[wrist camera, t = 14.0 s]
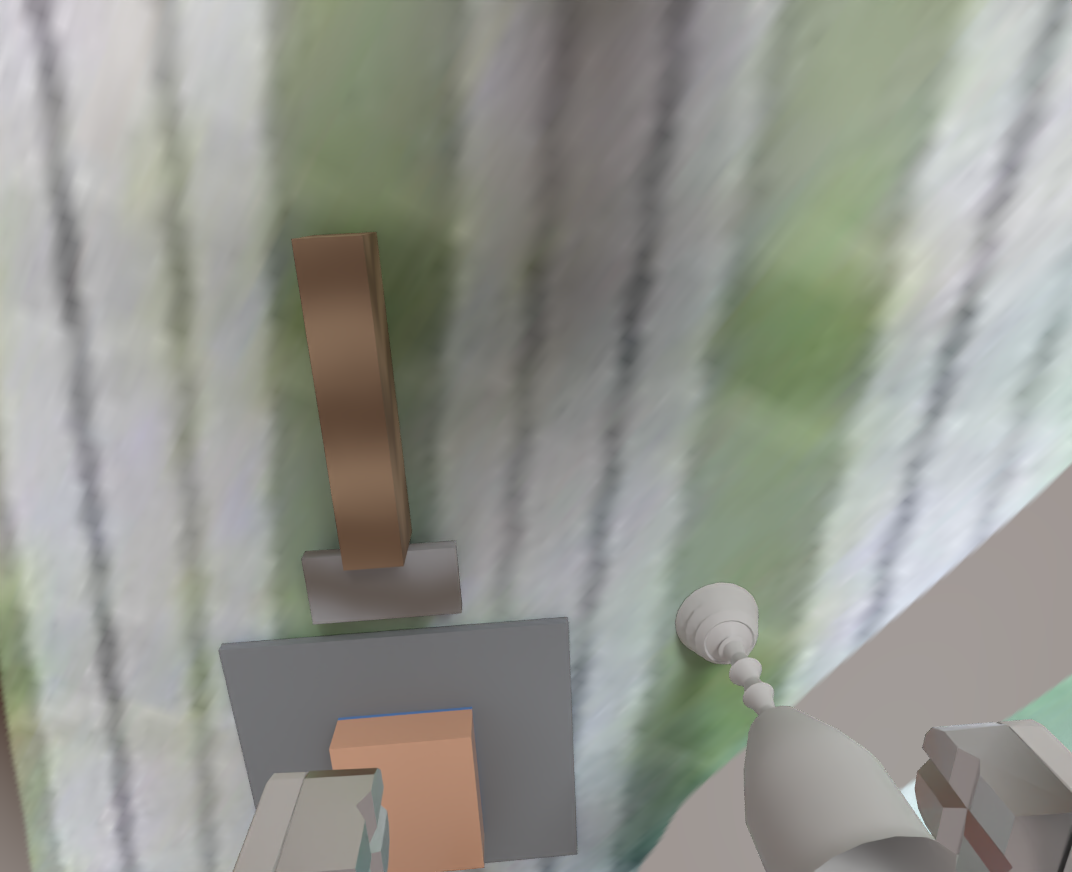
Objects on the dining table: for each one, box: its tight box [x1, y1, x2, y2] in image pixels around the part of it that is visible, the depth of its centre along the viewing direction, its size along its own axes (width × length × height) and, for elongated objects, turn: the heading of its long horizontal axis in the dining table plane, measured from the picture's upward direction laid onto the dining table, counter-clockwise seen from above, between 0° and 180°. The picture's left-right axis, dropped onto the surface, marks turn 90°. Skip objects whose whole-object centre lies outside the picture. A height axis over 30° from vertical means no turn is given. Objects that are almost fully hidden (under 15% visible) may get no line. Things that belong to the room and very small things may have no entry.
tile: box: [329, 707, 484, 872], centre depth 42 cm, size 2×8×10 cm
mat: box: [219, 617, 577, 863], centre depth 43 cm, size 18×20×1 cm
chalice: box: [675, 582, 957, 872], centre depth 33 cm, size 7×7×18 cm
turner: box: [291, 232, 462, 624], centre depth 34 cm, size 20×8×4 cm, turn 3°
